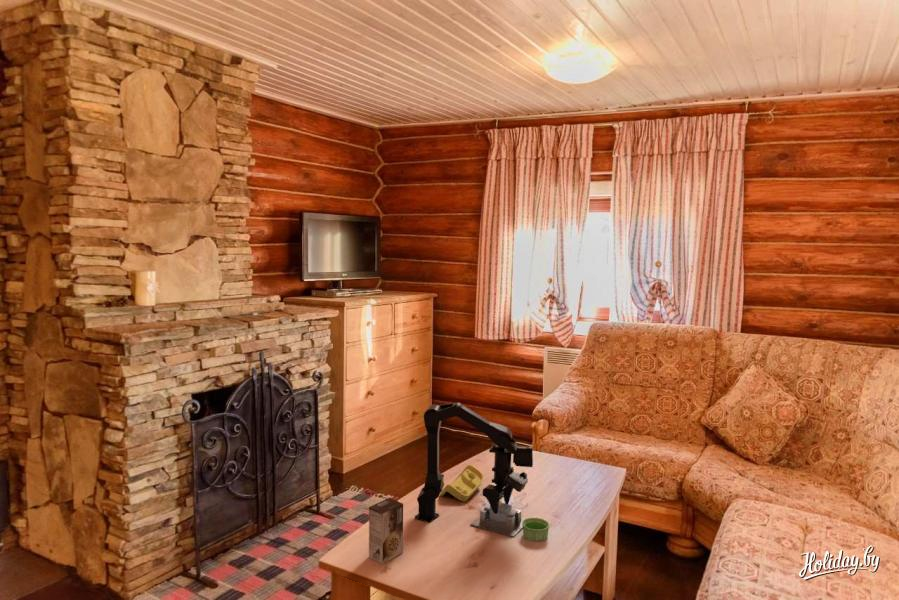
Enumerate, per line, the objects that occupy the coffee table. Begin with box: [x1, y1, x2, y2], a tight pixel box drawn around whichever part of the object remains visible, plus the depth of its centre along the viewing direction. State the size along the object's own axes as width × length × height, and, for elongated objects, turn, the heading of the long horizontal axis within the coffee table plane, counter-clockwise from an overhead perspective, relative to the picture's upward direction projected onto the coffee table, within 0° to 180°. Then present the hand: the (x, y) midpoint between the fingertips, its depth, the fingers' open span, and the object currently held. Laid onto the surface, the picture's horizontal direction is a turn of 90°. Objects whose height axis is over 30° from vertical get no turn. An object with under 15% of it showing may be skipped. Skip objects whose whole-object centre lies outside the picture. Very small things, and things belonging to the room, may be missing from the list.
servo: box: [483, 500, 519, 524], centre depth 212 cm, size 4×11×7 cm, turn 60°
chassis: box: [470, 507, 526, 538], centre depth 212 cm, size 14×16×4 cm
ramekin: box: [522, 517, 550, 542], centre depth 204 cm, size 9×9×4 cm
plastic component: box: [439, 464, 484, 502], centre depth 239 cm, size 20×7×10 cm
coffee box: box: [368, 497, 404, 565], centre depth 188 cm, size 9×6×16 cm
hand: (501, 508), depth 212 cm, fingers open, 9 cm apart
